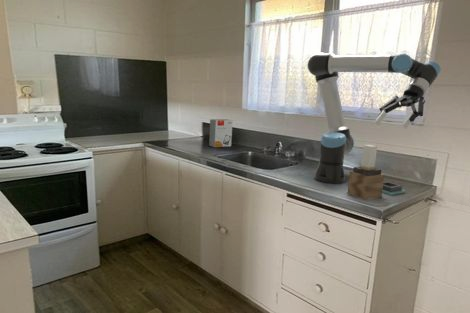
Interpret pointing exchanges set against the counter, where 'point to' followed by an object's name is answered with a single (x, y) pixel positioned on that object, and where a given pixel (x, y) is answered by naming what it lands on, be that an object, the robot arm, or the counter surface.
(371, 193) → the wooden planter box
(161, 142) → the counter surface
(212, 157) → the counter surface
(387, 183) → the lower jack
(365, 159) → the plug
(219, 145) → the hard drive box
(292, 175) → the counter surface
